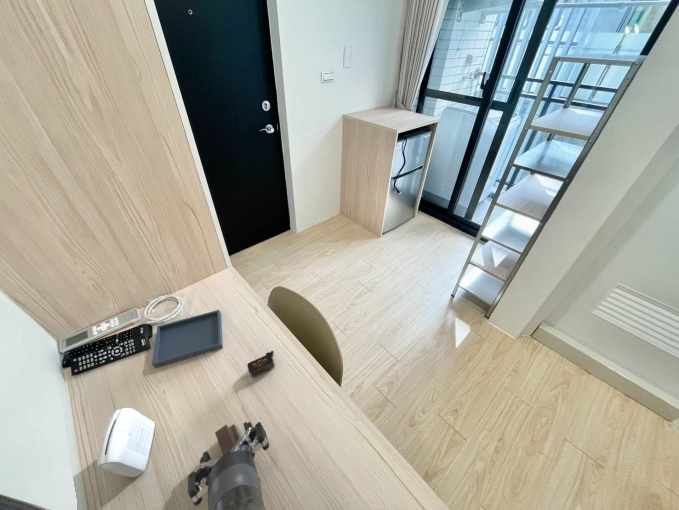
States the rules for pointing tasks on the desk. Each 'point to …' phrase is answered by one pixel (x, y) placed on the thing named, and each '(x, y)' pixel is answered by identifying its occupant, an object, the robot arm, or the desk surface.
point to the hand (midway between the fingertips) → (227, 440)
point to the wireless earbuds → (261, 364)
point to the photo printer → (126, 443)
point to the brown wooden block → (227, 437)
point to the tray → (187, 338)
